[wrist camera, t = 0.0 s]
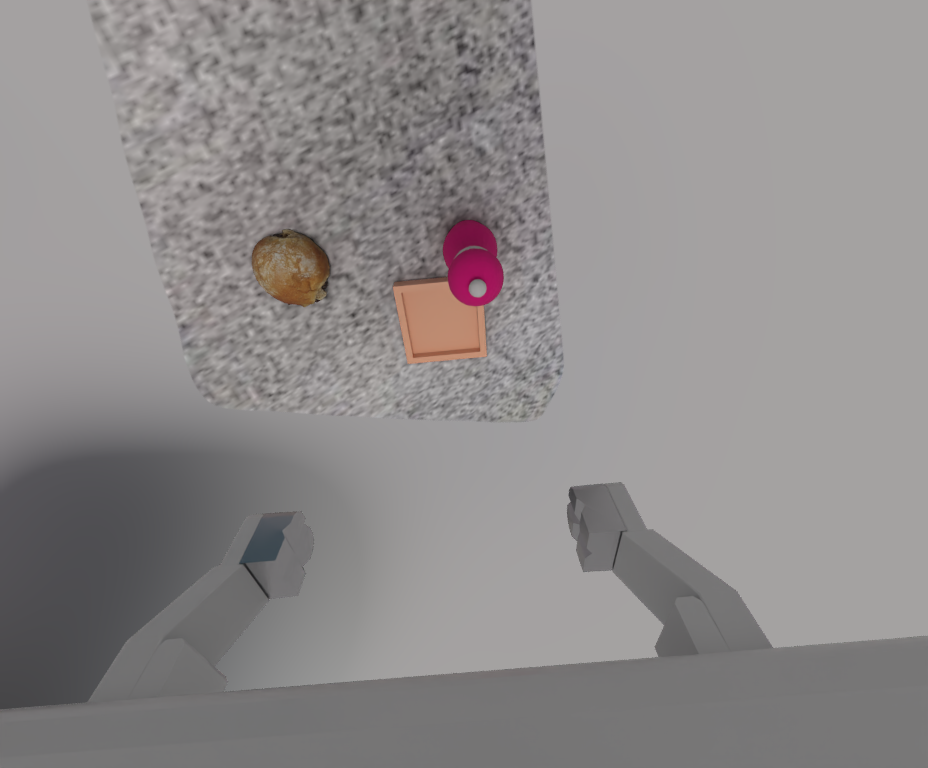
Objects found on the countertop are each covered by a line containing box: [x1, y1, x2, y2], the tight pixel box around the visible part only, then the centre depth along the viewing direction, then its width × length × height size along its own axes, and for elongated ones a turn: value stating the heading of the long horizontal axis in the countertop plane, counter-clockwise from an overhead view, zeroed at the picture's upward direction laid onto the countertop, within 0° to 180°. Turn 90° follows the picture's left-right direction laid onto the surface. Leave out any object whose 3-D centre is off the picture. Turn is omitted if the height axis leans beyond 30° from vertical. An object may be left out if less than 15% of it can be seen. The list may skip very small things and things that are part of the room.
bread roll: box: [252, 229, 330, 307], centre depth 52 cm, size 10×10×8 cm
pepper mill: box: [443, 220, 504, 306], centre depth 45 cm, size 7×7×20 cm
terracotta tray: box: [393, 277, 487, 364], centre depth 58 cm, size 13×13×2 cm
